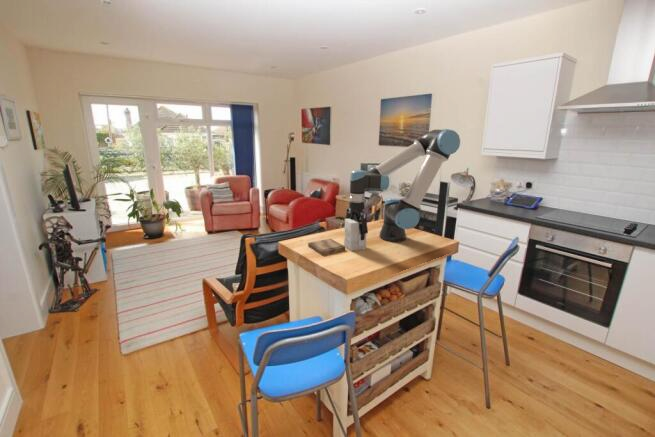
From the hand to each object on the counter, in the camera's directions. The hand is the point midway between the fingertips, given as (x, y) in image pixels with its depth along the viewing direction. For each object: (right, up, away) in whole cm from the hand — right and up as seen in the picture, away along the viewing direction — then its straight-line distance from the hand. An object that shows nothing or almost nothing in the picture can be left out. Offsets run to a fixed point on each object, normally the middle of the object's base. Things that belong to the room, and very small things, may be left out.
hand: (354, 242), depth 163 cm
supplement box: (0, -3, +1) cm, 3 cm away
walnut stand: (-15, -3, -2) cm, 15 cm away
